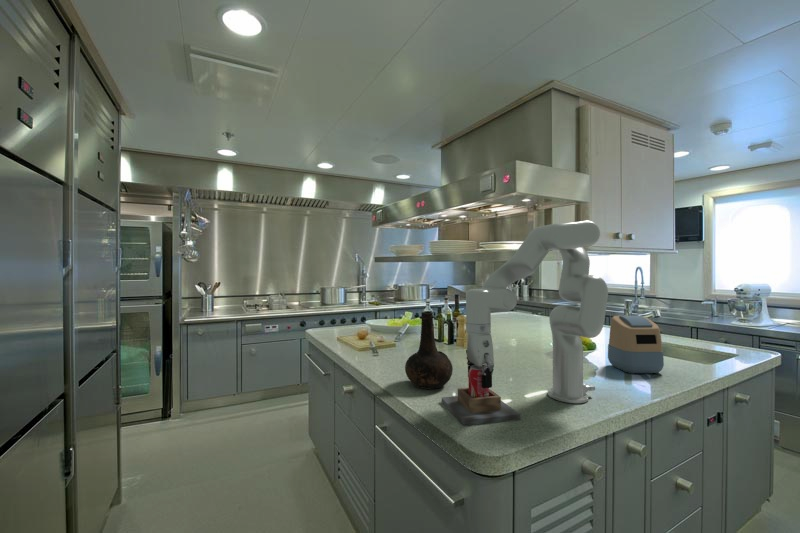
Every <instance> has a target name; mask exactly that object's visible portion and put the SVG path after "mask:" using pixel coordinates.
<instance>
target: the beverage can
mask: <svg viewBox="0 0 800 533" xmlns="http://www.w3.org/2000/svg"><path fill="white" fill-rule="evenodd" d="M486 368H487V367H486ZM486 368H484V369H485V370H486ZM481 375H483V373H482V370H481V367H478V366H477V365H472V366H470V369H469V371H468V370H467V378H468V388H469V395H470V396H471V397H472V398H478V397H488V396H489V389H490V388H482V381H481Z"/></svg>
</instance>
